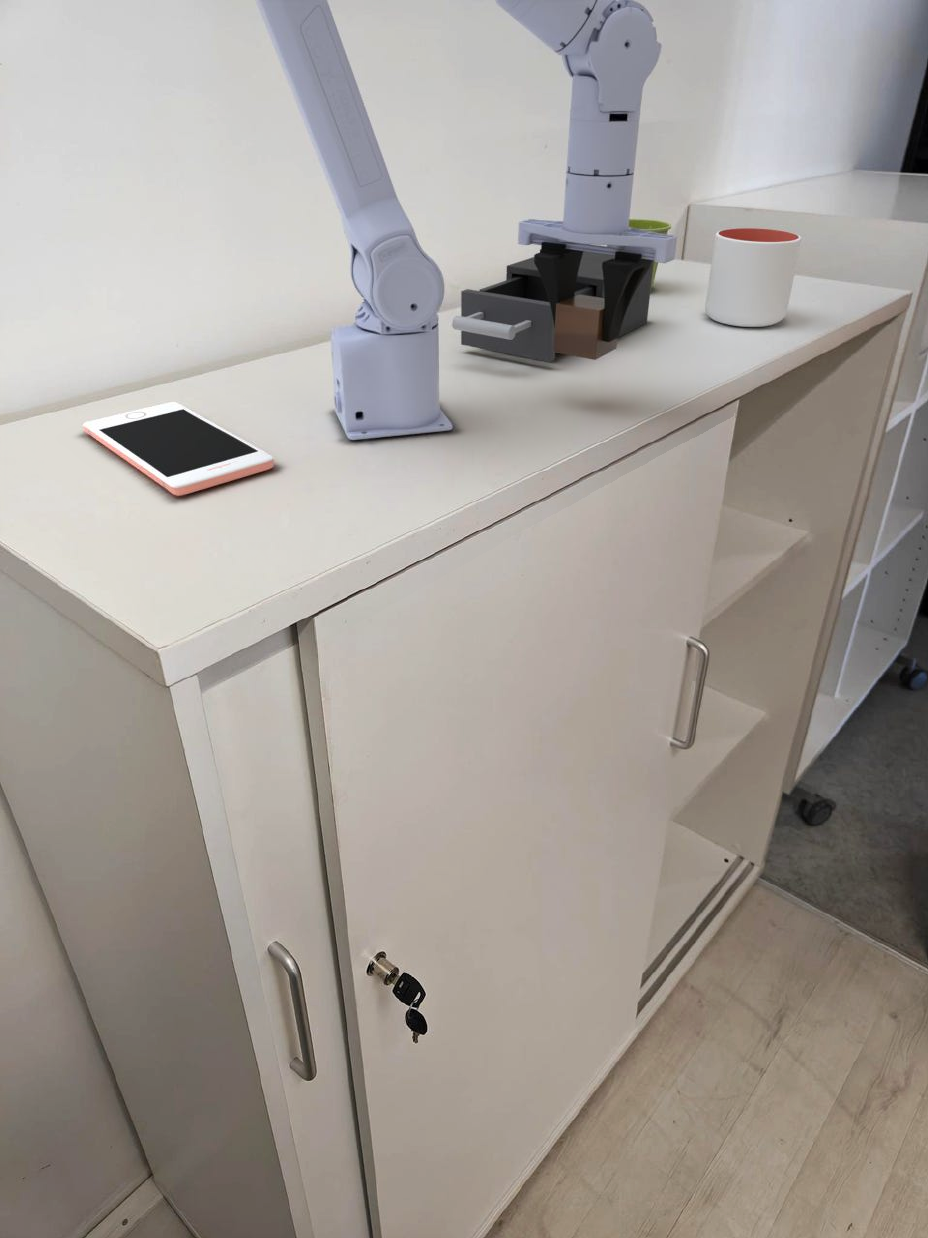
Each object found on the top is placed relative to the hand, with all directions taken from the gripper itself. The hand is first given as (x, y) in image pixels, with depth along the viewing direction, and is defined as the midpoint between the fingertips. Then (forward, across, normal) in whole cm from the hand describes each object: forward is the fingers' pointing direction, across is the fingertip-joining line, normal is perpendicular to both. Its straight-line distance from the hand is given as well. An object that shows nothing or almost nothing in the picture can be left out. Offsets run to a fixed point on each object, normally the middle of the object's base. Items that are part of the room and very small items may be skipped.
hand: (586, 334), depth 82 cm
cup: (+7, -2, -40) cm, 41 cm away
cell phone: (+7, +23, +30) cm, 39 cm away
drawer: (+6, +13, -11) cm, 18 cm away
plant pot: (+7, +17, -47) cm, 50 cm away
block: (+1, 0, 0) cm, 1 cm away
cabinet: (+6, +13, -24) cm, 29 cm away
